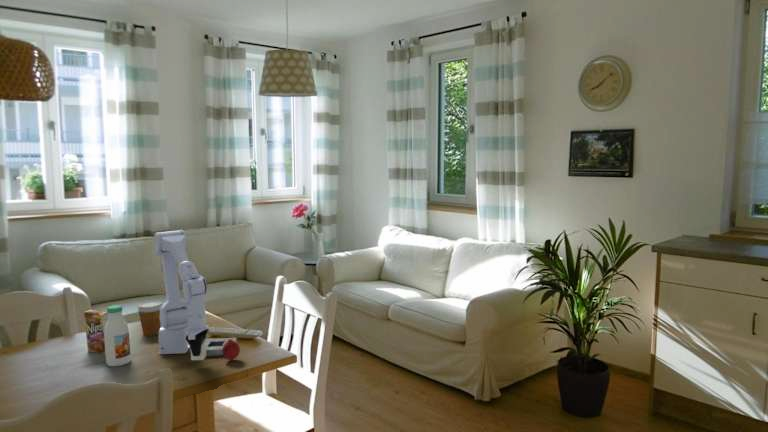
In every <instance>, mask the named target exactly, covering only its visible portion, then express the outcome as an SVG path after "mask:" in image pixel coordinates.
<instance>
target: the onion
mask: <svg viewBox="0 0 768 432" xmlns="http://www.w3.org/2000/svg"><path fill="white" fill-rule="evenodd" d="M228 338H229V340H228V342H226V343H225V345H224V346H223V348H222V353H223V355H224V356H223V357H224V358H226V360H228V361H230V362H231V361H234V360H235V359H236V358H237V357H238V356H239V354H240V353H241V351H240V349H241V348H240V346H239V345H238V343H237V341H236V342H235V341H233V340H231V338H232V337H228Z"/></svg>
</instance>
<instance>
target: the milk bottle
mask: <svg viewBox="0 0 768 432" xmlns="http://www.w3.org/2000/svg"><path fill="white" fill-rule="evenodd" d="M106 309H107V310H106V311H107V312H108V321H107V323H106V326H105V330H104V340H105V353H106V354H105V362H106V365H107V366H109V367H120V366H124V365H127V364H129V363H130V362H131V359H132V358H131V343H130V332H129V331H130V330H129V327H128V324H127V321H126V320H125V319H124V316H123V306H122V305H120V304H113V305H110V306H107V308H106Z"/></svg>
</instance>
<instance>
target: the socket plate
mask: <svg viewBox="0 0 768 432" xmlns="http://www.w3.org/2000/svg"><path fill="white" fill-rule="evenodd" d="M229 338H231V340H233V341H235V342H236V343H237V337H223V338H222V337H220V338H219V337H217V338H205V340H206V357H205V358H207V357H208V358H212V357H213V358H215V357H224V355H223V353H222V348H223V346H224V345H225V343H226V342H228V340H229Z"/></svg>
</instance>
